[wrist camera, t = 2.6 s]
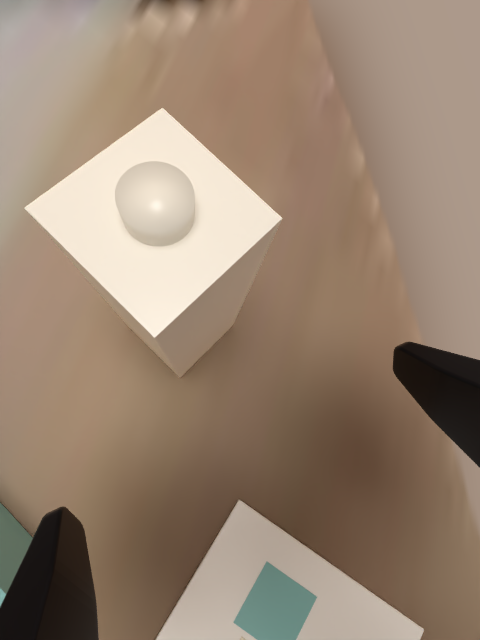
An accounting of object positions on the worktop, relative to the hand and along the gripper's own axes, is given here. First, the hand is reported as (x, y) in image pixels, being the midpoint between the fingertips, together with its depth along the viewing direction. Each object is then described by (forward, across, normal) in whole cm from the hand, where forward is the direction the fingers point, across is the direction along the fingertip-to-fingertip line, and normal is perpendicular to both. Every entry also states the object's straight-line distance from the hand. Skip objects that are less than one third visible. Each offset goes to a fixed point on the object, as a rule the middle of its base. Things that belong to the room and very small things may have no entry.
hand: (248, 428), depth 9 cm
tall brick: (+13, 0, +4) cm, 13 cm away
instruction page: (0, +1, +17) cm, 17 cm away
